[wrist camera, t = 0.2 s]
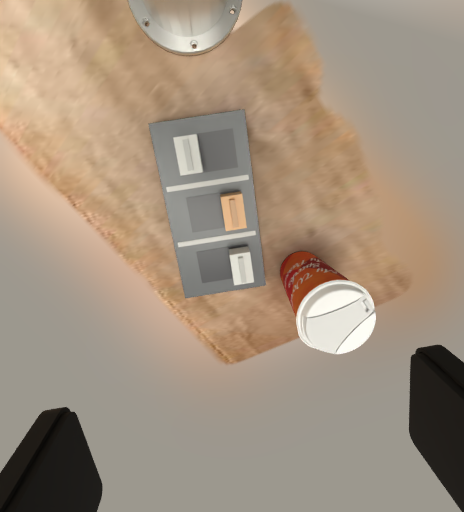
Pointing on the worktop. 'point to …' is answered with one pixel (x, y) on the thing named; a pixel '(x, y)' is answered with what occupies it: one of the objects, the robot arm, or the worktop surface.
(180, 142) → the switch
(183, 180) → the switch panel
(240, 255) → the switch
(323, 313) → the coffee cup
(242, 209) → the switch
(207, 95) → the worktop surface
